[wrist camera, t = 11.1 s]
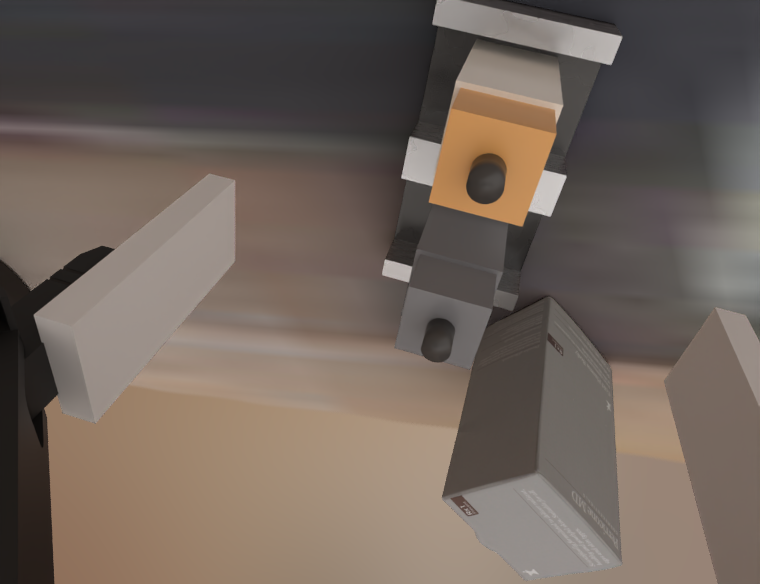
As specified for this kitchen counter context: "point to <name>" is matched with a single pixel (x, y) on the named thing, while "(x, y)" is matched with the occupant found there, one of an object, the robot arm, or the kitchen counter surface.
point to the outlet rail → (452, 46)
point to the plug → (498, 132)
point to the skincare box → (539, 447)
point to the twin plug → (452, 286)
